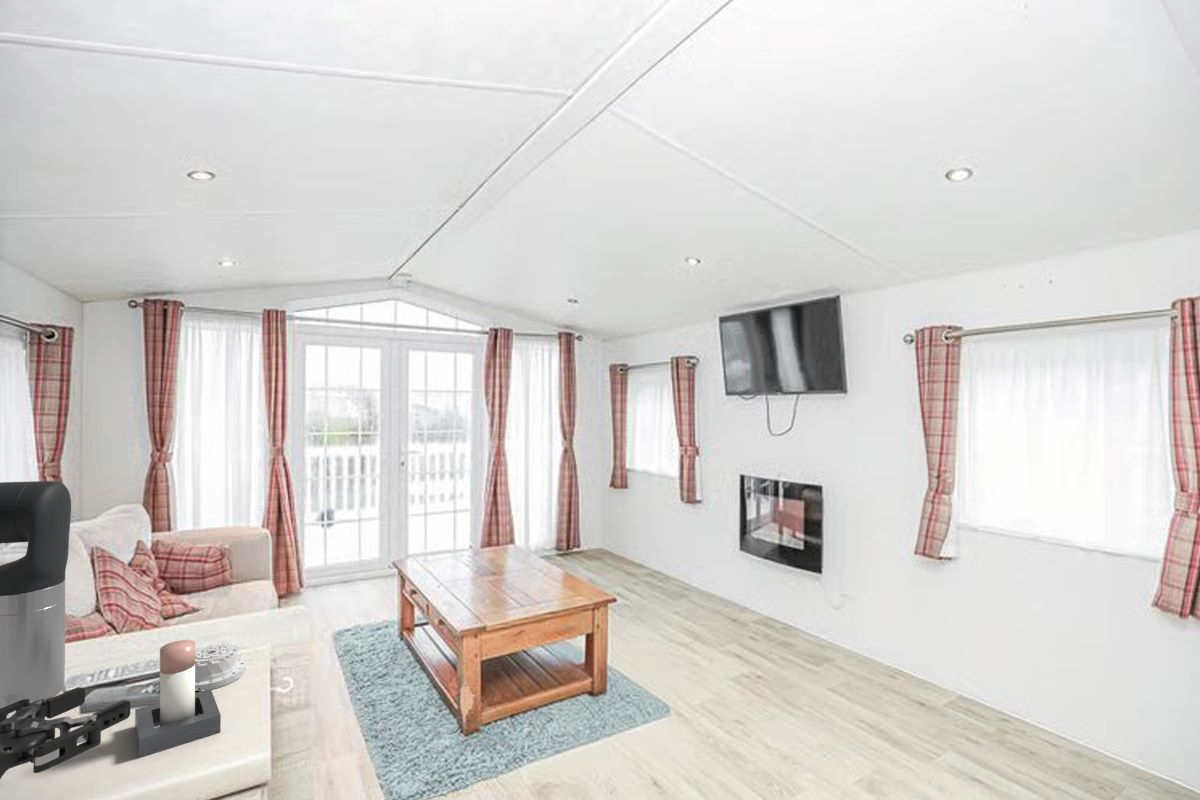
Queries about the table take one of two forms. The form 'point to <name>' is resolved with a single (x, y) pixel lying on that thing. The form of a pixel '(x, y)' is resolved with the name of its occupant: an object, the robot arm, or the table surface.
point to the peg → (177, 681)
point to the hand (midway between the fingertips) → (105, 701)
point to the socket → (176, 725)
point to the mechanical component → (217, 666)
